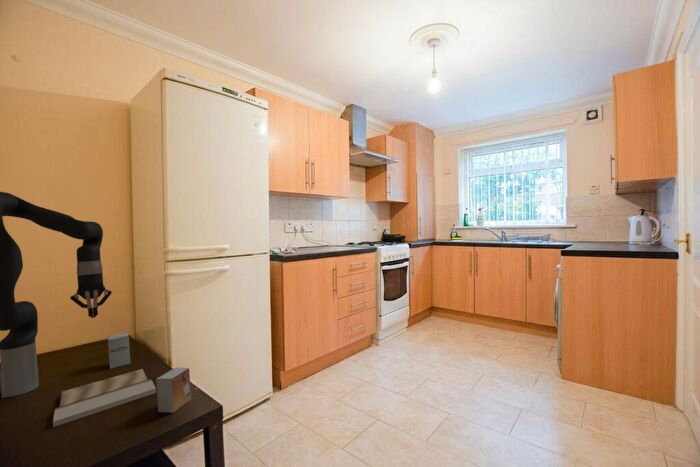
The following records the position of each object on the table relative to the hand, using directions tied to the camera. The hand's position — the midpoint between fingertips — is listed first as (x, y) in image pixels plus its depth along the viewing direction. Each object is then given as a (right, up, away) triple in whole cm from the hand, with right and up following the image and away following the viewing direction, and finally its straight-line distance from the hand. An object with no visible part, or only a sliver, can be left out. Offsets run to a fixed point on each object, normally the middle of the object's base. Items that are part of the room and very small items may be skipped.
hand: (93, 317), depth 120 cm
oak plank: (+11, -24, -7) cm, 28 cm away
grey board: (+19, -24, -17) cm, 35 cm away
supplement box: (-2, -25, +17) cm, 30 cm away
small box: (+44, -23, -22) cm, 54 cm away
